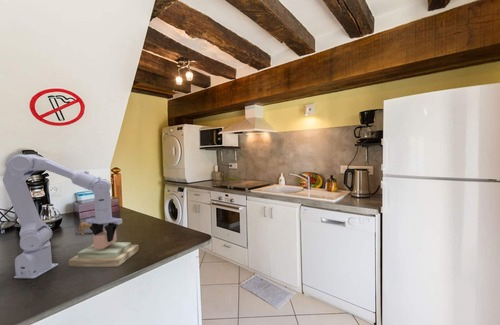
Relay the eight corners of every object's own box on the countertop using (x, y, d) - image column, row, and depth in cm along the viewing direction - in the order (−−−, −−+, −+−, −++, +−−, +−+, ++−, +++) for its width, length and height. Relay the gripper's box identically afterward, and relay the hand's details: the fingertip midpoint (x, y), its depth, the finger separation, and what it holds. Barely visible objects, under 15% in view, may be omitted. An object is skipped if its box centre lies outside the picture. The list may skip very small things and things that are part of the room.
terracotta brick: (103, 248, 88) (102, 236, 87) (93, 248, 88) (93, 236, 88) (116, 240, 96) (116, 229, 95) (107, 240, 96) (107, 229, 95)
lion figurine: (107, 230, 125) (106, 214, 125) (104, 233, 120) (103, 217, 120) (77, 233, 121) (76, 217, 121) (72, 237, 116) (71, 220, 116)
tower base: (118, 266, 84) (117, 255, 84) (68, 266, 85) (68, 255, 85) (138, 250, 98) (138, 240, 98) (96, 250, 99) (95, 240, 99)
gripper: (126, 206, 94) (127, 237, 95) (94, 206, 95) (96, 237, 96) (115, 210, 87) (117, 244, 88) (80, 211, 88) (82, 244, 89)
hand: (105, 241), depth 91 cm, fingers closed on terracotta brick, 4 cm apart
